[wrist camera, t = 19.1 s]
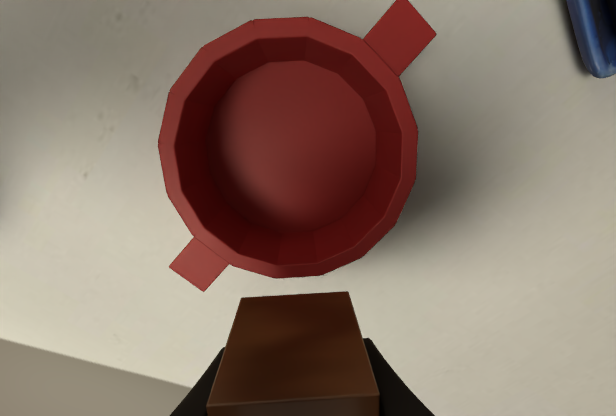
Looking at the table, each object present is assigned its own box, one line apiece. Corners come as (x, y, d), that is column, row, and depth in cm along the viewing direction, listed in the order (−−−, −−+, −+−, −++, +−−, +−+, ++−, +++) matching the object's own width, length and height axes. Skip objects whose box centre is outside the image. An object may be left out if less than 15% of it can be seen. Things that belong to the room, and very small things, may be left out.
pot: (454, 113, 19) (513, 109, 14) (276, 296, 23) (270, 349, 17) (313, -41, 17) (320, -116, 12) (135, 190, 20) (77, 213, 15)
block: (348, 290, 12) (380, 394, 8) (349, 377, 14) (377, 513, 9) (240, 297, 12) (204, 405, 8) (251, 383, 14) (226, 524, 9)
